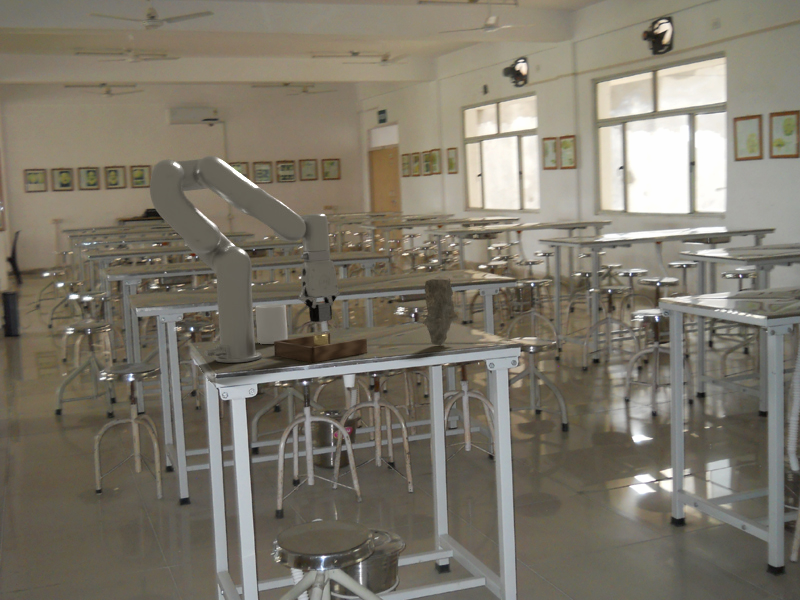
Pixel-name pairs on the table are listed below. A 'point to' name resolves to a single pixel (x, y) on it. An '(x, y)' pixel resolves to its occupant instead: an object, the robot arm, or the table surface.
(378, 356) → the table surface
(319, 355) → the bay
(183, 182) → the robot arm
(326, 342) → the brass part
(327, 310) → the steel block
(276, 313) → the white box
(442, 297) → the stone tool
